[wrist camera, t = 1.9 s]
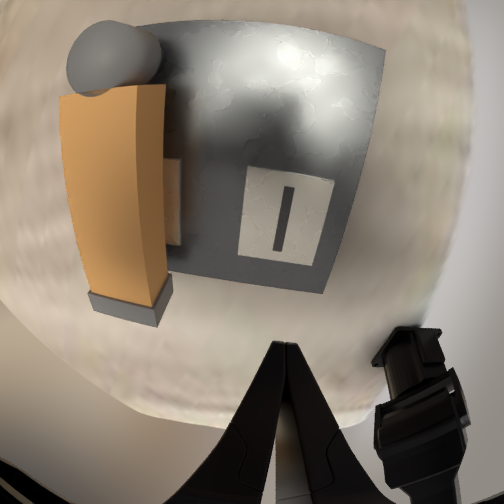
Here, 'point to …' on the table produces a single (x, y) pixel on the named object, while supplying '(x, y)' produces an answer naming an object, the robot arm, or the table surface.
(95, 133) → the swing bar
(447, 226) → the table surface
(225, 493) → the robot arm
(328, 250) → the label panel
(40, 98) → the table surface
